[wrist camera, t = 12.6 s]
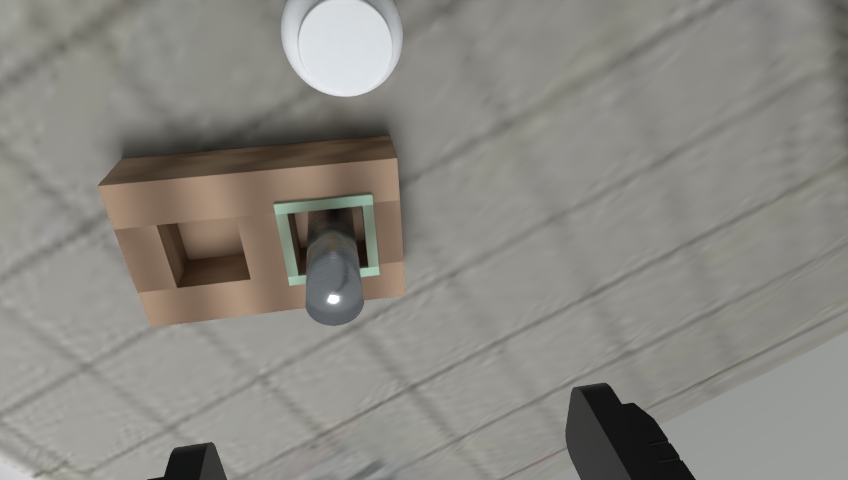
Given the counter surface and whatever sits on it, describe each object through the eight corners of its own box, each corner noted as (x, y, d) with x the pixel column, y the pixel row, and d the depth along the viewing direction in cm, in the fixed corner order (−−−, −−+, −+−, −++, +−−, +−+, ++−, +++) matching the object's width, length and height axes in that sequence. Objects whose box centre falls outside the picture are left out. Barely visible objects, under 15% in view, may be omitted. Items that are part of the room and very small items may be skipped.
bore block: (389, 135, 42) (397, 159, 37) (398, 262, 48) (406, 297, 43) (121, 158, 39) (95, 188, 35) (167, 290, 45) (149, 329, 41)
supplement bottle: (305, 73, 38) (298, 128, 27) (275, -27, 35) (253, -10, 24) (394, 52, 39) (423, 98, 28) (373, -49, 35) (397, -42, 24)
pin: (350, 193, 43) (361, 275, 32) (354, 232, 44) (366, 321, 34) (305, 197, 42) (301, 282, 32) (310, 236, 44) (309, 328, 34)
